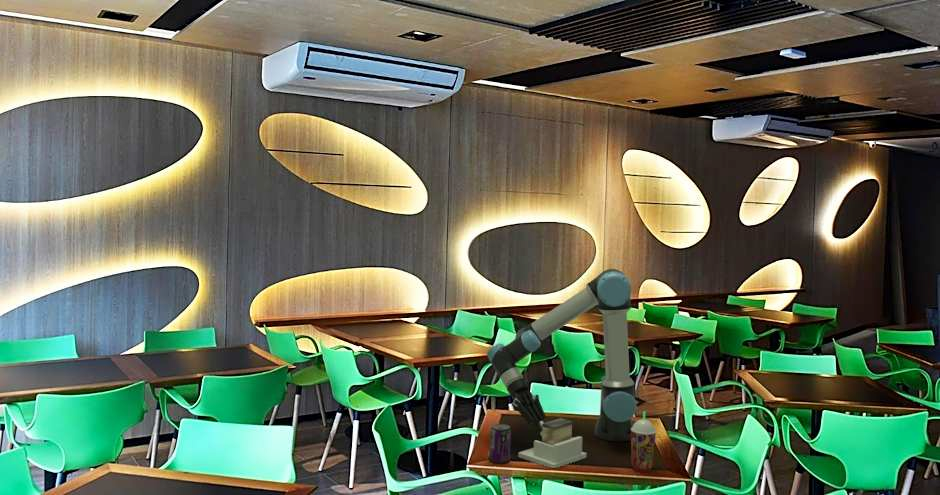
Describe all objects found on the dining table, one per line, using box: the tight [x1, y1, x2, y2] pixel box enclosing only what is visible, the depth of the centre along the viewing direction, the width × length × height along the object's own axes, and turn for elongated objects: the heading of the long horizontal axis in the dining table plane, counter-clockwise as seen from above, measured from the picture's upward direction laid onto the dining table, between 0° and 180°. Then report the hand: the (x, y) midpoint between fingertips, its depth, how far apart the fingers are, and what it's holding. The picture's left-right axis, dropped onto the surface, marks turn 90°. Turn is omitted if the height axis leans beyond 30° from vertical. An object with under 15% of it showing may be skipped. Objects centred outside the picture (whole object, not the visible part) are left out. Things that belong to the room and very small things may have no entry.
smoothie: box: [630, 410, 657, 473], centre depth 268 cm, size 8×8×20 cm
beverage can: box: [489, 423, 512, 464], centre depth 273 cm, size 7×7×12 cm
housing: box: [517, 435, 588, 469], centre depth 278 cm, size 16×18×8 cm
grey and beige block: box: [541, 417, 574, 446], centre depth 277 cm, size 5×10×11 cm, turn 135°
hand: (548, 438), depth 279 cm, fingers closed
